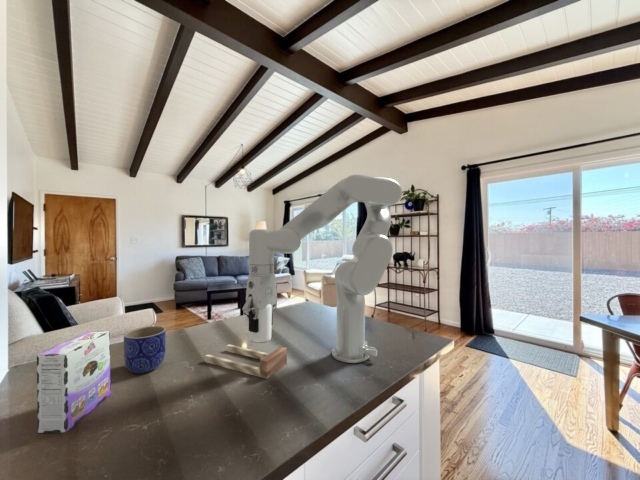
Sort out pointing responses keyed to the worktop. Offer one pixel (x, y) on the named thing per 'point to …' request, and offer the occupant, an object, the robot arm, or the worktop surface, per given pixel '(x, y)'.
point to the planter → (144, 348)
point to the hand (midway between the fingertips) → (261, 327)
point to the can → (263, 325)
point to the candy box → (72, 380)
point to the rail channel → (267, 360)
